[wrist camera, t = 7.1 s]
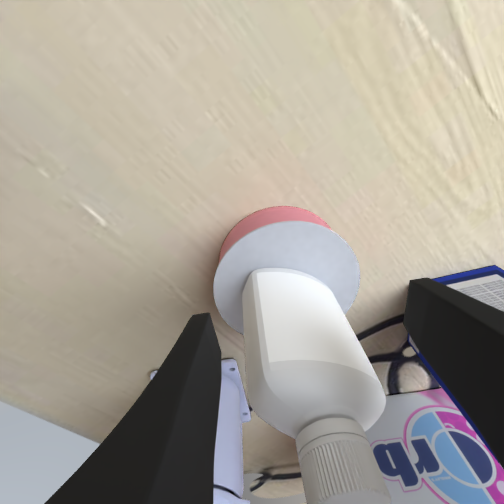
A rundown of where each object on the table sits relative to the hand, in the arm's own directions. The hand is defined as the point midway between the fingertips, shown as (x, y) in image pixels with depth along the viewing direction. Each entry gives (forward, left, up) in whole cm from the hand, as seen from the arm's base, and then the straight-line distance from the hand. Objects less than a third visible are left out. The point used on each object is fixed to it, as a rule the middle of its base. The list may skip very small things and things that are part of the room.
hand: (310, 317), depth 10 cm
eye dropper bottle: (-4, 0, -7) cm, 8 cm away
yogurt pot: (-4, 0, -10) cm, 10 cm away
